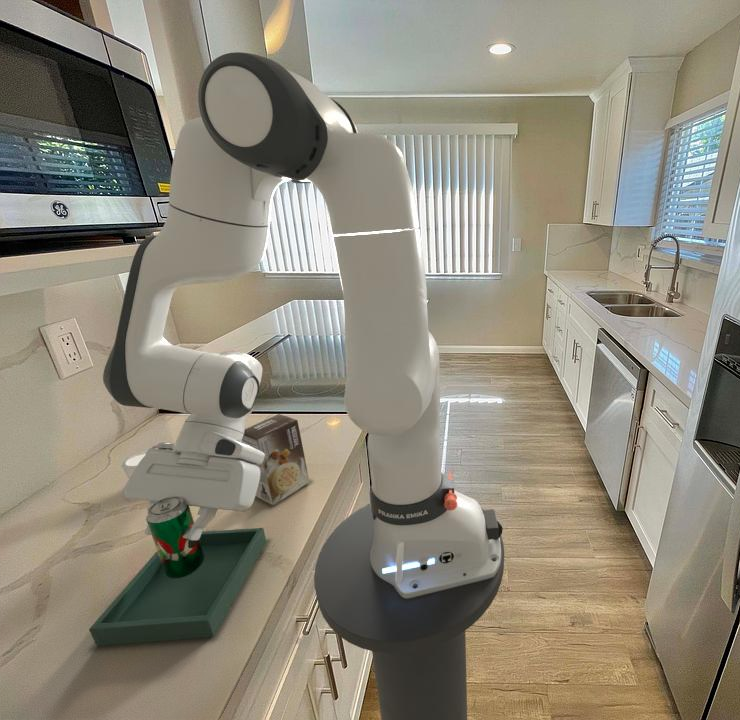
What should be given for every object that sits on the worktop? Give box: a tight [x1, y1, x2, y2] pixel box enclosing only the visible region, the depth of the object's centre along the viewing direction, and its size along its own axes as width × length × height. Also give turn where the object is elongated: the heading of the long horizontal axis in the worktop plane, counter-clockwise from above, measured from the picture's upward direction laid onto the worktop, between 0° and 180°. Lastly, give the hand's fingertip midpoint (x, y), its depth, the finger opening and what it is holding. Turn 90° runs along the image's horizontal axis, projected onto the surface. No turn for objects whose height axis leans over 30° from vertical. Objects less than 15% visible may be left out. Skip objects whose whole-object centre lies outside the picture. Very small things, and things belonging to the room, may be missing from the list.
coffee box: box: [242, 413, 310, 506], centre depth 84 cm, size 9×6×16 cm
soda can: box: [145, 496, 204, 578], centre depth 60 cm, size 5×5×12 cm
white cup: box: [121, 450, 148, 479], centre depth 87 cm, size 7×7×7 cm
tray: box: [88, 527, 267, 647], centre depth 63 cm, size 16×18×3 cm
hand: (171, 537), depth 59 cm, fingers closed on soda can, 5 cm apart
